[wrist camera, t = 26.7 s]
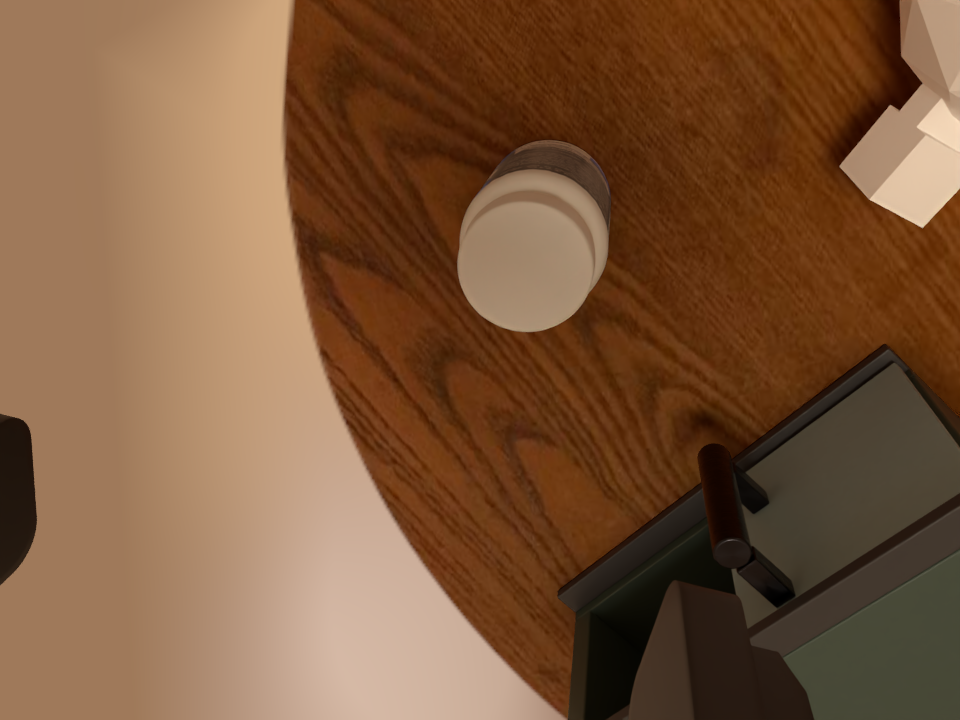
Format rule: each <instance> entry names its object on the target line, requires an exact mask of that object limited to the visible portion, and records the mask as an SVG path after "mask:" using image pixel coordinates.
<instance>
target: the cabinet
mask: <svg viewBox="0 0 960 720" xmlns="http://www.w3.org/2000/svg"><path fill="white" fill-rule="evenodd" d="M893 363H896V364H897V365H898V366H899V367H900V368H901V369H902V370H903V372H904V373H905V374H906V376H907V377H908V378H909V380H910V381H911V382H912V384H913V385H914V386H915V388H916V389H917V390H918V392H919V393H920V394H921V396H922V397H923V399H924V400H925V401H926V403H927V404H928V405H929V407H930V408H931V409H932V411H933V412H934V413H935V415H936V416H937V417H938V419H939V420H940V421H941V423H942V424H943V425H944V427H945V428H946V429H947V431H948V432H949V434H950V435H951V436H952V438H953V439H954V440H955V442H956V443H957V444H958V446H959V447H960V418H959V417H958V416H957V415H956V414H955V413H954V412H953V411H952V410H951V409H950V408H949V407H948V406H947V405H946V404H945V403H944V402H943V401H942V400H941V399H940V398H939V397H938V396H937V395H936V394H935V393H934V392H933V391H932V390H931V389H930V388H929V387H928V386H927V385H926V384H925V383H924V382H923V381H922V380H921V379H920V378H919V377H918V376H917V375H916V374H915V373H914V372H913V371H912V370H911V369H910V368H909V367H908V366H907V365H906V364H905V363H904V362H903V361H902V360H901V359H900V358H899V357H898V356H897V355H896V354H895V353H894V352H893V351H892V350H891V349H890V348H889V347H888V346H887V345H886V344H885V345H883V346H882V347H881V348H879V349H878V350H877V351H876V352H874V353H873V354H872V355H870V356H869V357H868V358H866V359H865V360H864V361H862V362H861V363H860V364H858V365H857V366H856V367H854V368H853V369H852V370H850V371H849V372H848V373H846V374H845V375H844V376H842V377H841V378H840V379H838V380H837V381H836V382H834V383H833V384H832V385H830V386H829V387H828V388H826V389H825V390H824V391H822V392H821V393H820V394H819V395H817V396H816V397H815V398H813V399H812V400H811V401H809V402H808V403H807V404H805V405H804V406H803V407H801V408H800V409H799V410H797V411H796V412H795V413H793V414H792V415H791V416H789V417H788V418H787V419H785V420H784V421H783V422H781V423H780V424H779V425H777V426H776V427H775V428H773V429H772V430H771V431H769V432H768V433H767V434H766V435H764V436H763V437H762V438H760V439H759V440H758V441H756V442H755V443H754V444H752V445H751V446H750V447H748V448H747V449H746V450H744V451H743V452H742V453H740V454H739V455H738V456H736V457H735V458H734V459H732V462H735V463H736V464H737V465H738V466H739V467H740V468H741V469H742V470H743V471H744V472H745V473H746V472H747V471H748V470H750V469H751V468H752V467H754V466H755V465H756V464H758V463H759V462H760V461H762V460H763V459H764V458H766V457H767V456H768V455H770V454H771V453H773V452H774V451H775V450H777V449H778V448H779V447H781V446H782V445H783V444H785V443H786V442H787V441H789V440H790V439H791V438H793V437H794V436H796V435H797V434H798V433H800V432H801V431H802V430H804V429H805V428H806V427H808V426H809V425H810V424H812V423H813V422H814V421H816V420H817V419H818V418H820V417H821V416H823V415H824V414H825V413H827V412H828V411H829V410H831V409H832V408H833V407H835V406H836V405H837V404H839V403H840V402H841V401H843V400H844V399H846V398H847V397H848V396H850V395H851V394H852V393H854V392H855V391H856V390H858V389H859V388H860V387H862V386H863V385H864V384H866V383H867V382H868V381H870V380H871V379H873V378H874V377H875V376H877V375H878V374H879V373H881V372H882V371H883V370H885V369H886V368H887V367H889V366H890V365H891V364H893ZM674 580H676V581H680V582H685V583H689V584H693V585H697V586H701V587H705V588H709V589H713V590H717V591H722V592H726V593H730V594H734V595H736V591H735V586H734V581H733V575H732V570H731V569H729V568H725V567H722V566H721V565H719V564H718V563H717V562H716V561H715V559H714V557H713V553H712V547H711V540H710V534H709V528H708V521H707V515H706V509H705V502H704V496H703V489H702V483H701V484H699V485H698V486H697V487H695V488H694V489H693V490H691V491H690V492H689V493H687V494H686V495H685V496H683V497H682V498H681V499H679V500H678V501H677V502H675V503H674V504H673V505H671V506H670V507H669V508H667V509H666V510H665V511H663V512H662V513H661V514H659V515H658V516H657V517H655V518H654V519H653V520H652V521H650V522H649V523H648V524H646V525H645V526H644V527H642V528H641V529H640V530H638V531H637V532H636V533H634V534H633V535H632V536H630V537H629V538H628V539H626V540H625V541H624V542H622V543H621V544H620V545H618V546H617V547H616V548H614V549H613V550H612V551H610V552H609V553H608V554H606V555H605V556H604V557H602V558H601V559H600V560H598V561H597V562H596V563H595V564H593V565H592V566H591V567H589V568H588V569H587V570H585V571H584V572H583V573H581V574H580V575H579V576H577V577H576V578H575V579H573V580H572V581H571V582H569V583H568V584H567V585H565V586H564V587H563V588H561V589H560V590H559V591H558V598H559V599H560V600H561V601H562V602H563V603H565V604H566V605H567V606H568V607H569V608H571V609H572V610H573V611H574V612H576V622H575V635H574V648H573V660H572V673H571V685H570V698H569V710H568V720H628V718H629V708H630V701H631V695H632V690H633V686H634V681H635V678H636V674H637V671H638V669H639V666H640V663H641V660H642V657H643V655H644V652H645V649H646V646H647V644H648V641H649V638H650V635H651V633H652V630H653V627H654V624H655V621H656V619H657V616H658V613H659V610H660V608H661V605H662V602H663V599H664V596H665V594H666V591H667V589H668V587H669V585H670V584H671V583H672V582H673V581H674ZM748 634H749V638H750V643H751V645H752V646H756V647H760V648H764V649H768V650H772V651H776V652H779V654H780V655H781V657H782V658H783V659H784V661H785V662H786V664H787V665H788V667H789V668H790V669H791V671H792V672H793V674H794V675H795V676H796V678H797V679H798V681H799V682H800V684H801V685H802V686H803V688H804V689H805V691H806V692H807V695H808V699H809V702H810V706H811V710H812V713H813V717H814V720H960V493H959V494H957V495H956V496H954V497H952V498H951V499H949V500H948V501H946V502H945V503H943V504H942V505H940V506H938V507H937V508H935V509H934V510H932V511H931V512H929V513H927V514H926V515H924V516H923V517H921V518H920V519H918V520H917V521H915V522H913V523H912V524H910V525H909V526H907V527H906V528H904V529H903V530H901V531H899V532H898V533H896V534H895V535H893V536H892V537H890V538H888V539H887V540H885V541H884V542H882V543H881V544H879V545H878V546H876V547H874V548H873V549H871V550H870V551H868V552H867V553H865V554H863V555H862V556H860V557H859V558H857V559H856V560H854V561H853V562H851V563H849V564H848V565H846V566H845V567H843V568H842V569H840V570H839V571H837V572H835V573H834V574H832V575H831V576H829V577H828V578H826V579H824V580H823V581H821V582H820V583H818V584H817V585H815V586H814V587H812V588H810V589H809V590H807V591H806V592H804V593H803V594H801V595H799V596H798V597H796V598H795V599H793V600H792V601H790V602H789V603H787V604H785V605H784V606H782V607H781V608H779V609H778V610H776V611H775V612H773V613H771V614H770V615H768V616H767V617H765V618H764V619H762V620H760V621H759V622H757V623H756V624H754V625H753V626H751V627H750V628H748Z"/></svg>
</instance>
